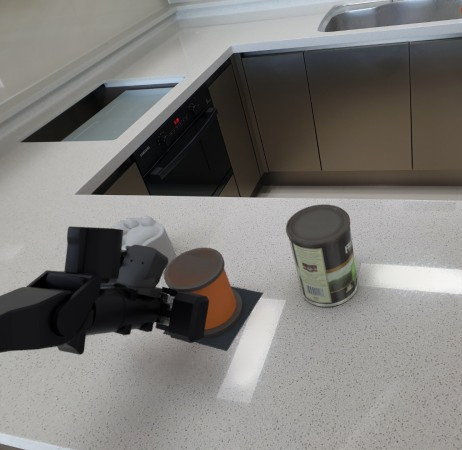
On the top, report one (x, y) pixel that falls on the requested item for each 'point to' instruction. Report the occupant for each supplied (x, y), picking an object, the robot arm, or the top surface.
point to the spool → (206, 287)
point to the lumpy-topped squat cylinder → (146, 235)
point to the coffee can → (323, 254)
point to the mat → (226, 338)
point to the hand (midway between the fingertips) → (184, 304)
